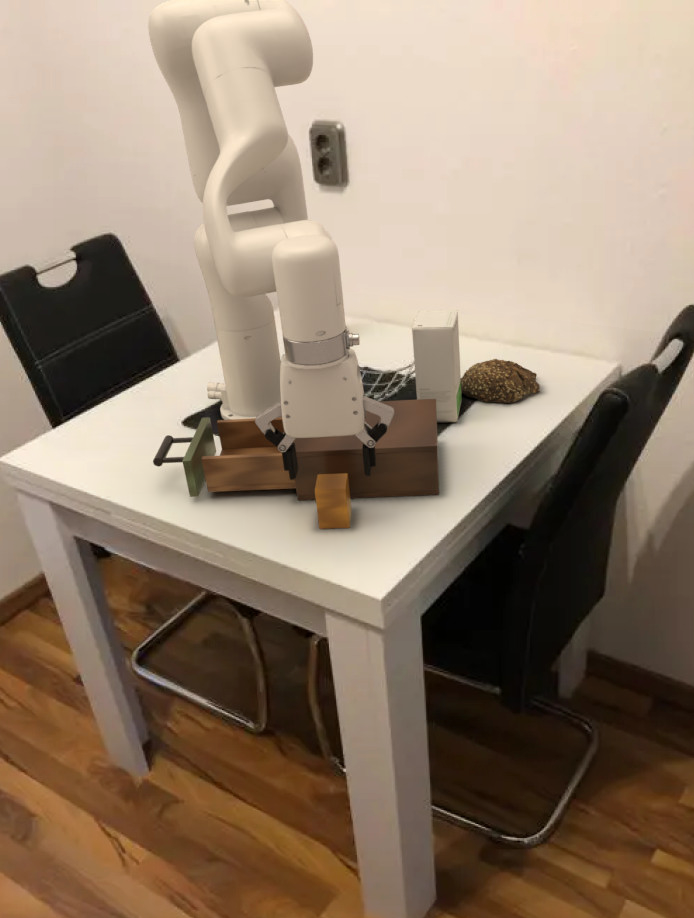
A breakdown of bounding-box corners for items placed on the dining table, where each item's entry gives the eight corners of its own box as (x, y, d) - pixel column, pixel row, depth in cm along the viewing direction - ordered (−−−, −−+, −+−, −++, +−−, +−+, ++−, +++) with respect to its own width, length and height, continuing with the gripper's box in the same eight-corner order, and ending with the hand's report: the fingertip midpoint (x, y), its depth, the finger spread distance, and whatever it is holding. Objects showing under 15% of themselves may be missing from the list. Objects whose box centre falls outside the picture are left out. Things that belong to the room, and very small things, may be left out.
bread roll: (447, 393, 151) (446, 365, 148) (490, 367, 158) (490, 340, 155) (512, 411, 143) (512, 382, 141) (554, 383, 151) (555, 355, 148)
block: (319, 529, 120) (314, 489, 116) (322, 512, 123) (317, 474, 120) (349, 527, 119) (345, 488, 116) (351, 511, 122) (347, 473, 119)
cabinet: (297, 500, 126) (290, 452, 122) (308, 450, 138) (303, 405, 134) (439, 494, 124) (437, 445, 120) (437, 444, 136) (436, 398, 132)
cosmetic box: (456, 423, 141) (454, 328, 133) (414, 423, 143) (409, 328, 134) (462, 400, 148) (460, 308, 140) (422, 400, 150) (417, 308, 141)
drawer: (153, 498, 128) (144, 462, 125) (174, 453, 139) (167, 419, 136) (320, 491, 126) (315, 454, 123) (328, 446, 137) (324, 411, 134)
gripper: (389, 330, 110) (399, 455, 119) (249, 339, 111) (269, 462, 121) (387, 353, 103) (397, 484, 113) (238, 362, 105) (260, 490, 114)
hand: (331, 472), depth 117 cm, fingers open, 9 cm apart
